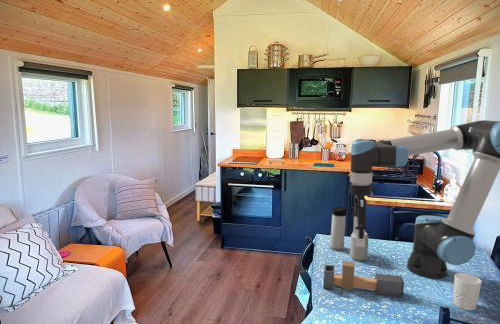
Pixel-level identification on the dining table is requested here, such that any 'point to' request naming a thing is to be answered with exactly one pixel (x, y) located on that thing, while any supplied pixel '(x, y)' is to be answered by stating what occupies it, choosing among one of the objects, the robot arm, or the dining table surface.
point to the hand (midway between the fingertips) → (358, 239)
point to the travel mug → (338, 228)
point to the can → (358, 248)
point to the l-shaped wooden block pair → (353, 279)
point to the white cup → (466, 291)
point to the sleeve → (389, 285)
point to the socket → (328, 277)
